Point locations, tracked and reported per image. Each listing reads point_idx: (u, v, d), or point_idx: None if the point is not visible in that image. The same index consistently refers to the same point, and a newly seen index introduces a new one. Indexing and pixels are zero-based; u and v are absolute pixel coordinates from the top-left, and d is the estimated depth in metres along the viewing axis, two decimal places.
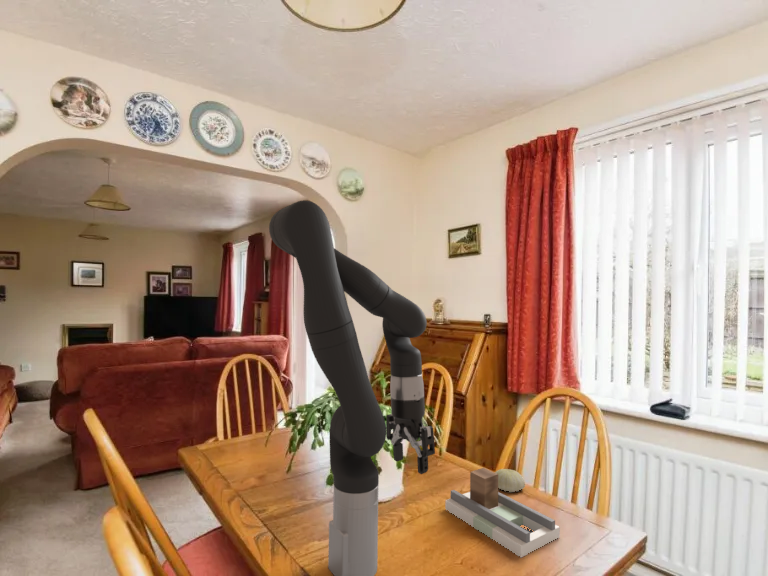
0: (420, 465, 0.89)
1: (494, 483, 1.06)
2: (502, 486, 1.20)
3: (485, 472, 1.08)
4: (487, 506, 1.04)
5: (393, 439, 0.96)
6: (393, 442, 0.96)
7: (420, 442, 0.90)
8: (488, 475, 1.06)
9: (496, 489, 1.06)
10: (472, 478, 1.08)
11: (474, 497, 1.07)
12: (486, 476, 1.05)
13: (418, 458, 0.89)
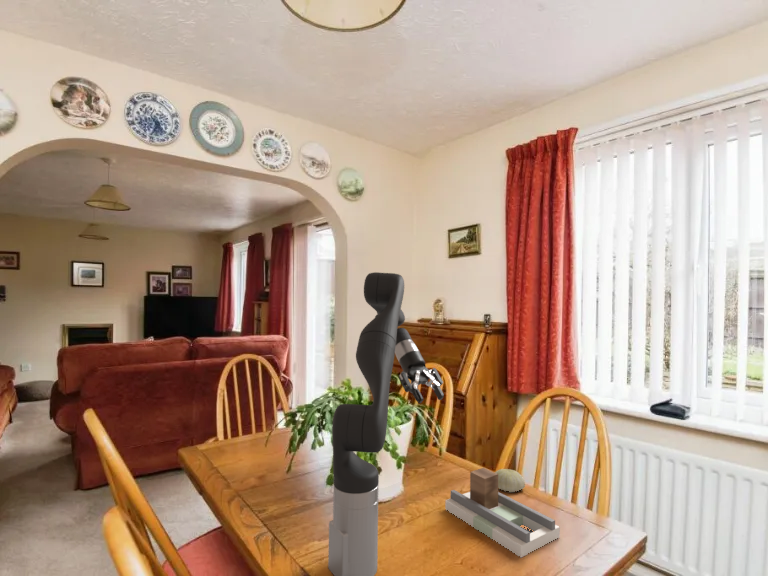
0: None
1: (494, 483, 1.06)
2: (502, 486, 1.20)
3: (485, 472, 1.08)
4: (487, 506, 1.04)
5: (415, 384, 1.26)
6: (416, 386, 1.25)
7: None
8: (488, 475, 1.06)
9: (496, 489, 1.06)
10: (472, 478, 1.08)
11: (474, 497, 1.07)
12: (486, 476, 1.05)
13: (438, 387, 1.29)
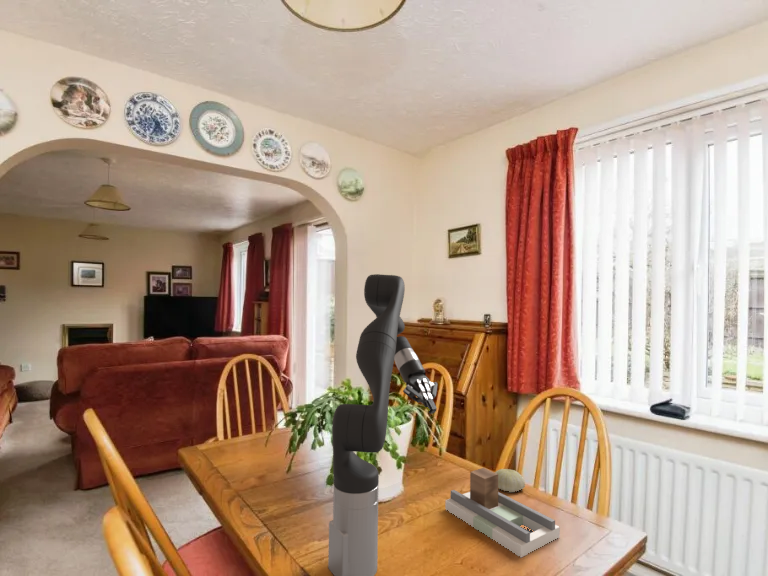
0: None
1: (494, 483, 1.06)
2: (502, 486, 1.20)
3: (485, 472, 1.08)
4: (487, 506, 1.04)
5: (426, 395, 1.27)
6: (427, 397, 1.26)
7: None
8: (488, 475, 1.06)
9: (496, 489, 1.06)
10: (472, 478, 1.08)
11: (474, 497, 1.07)
12: (486, 476, 1.05)
13: (430, 400, 1.26)
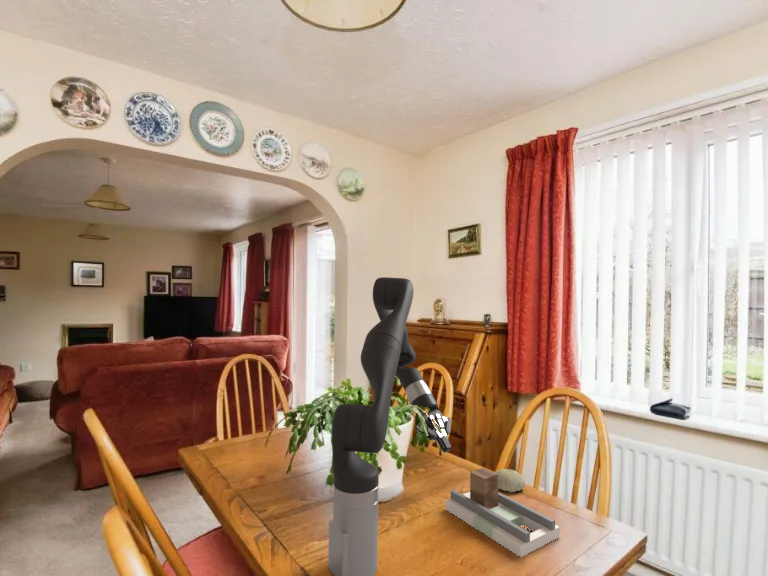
0: None
1: (494, 483, 1.06)
2: (502, 486, 1.20)
3: (485, 472, 1.08)
4: (487, 506, 1.04)
5: None
6: (441, 434, 1.21)
7: None
8: (488, 475, 1.06)
9: (496, 489, 1.06)
10: (472, 478, 1.08)
11: (474, 497, 1.07)
12: (486, 476, 1.05)
13: (445, 437, 1.21)
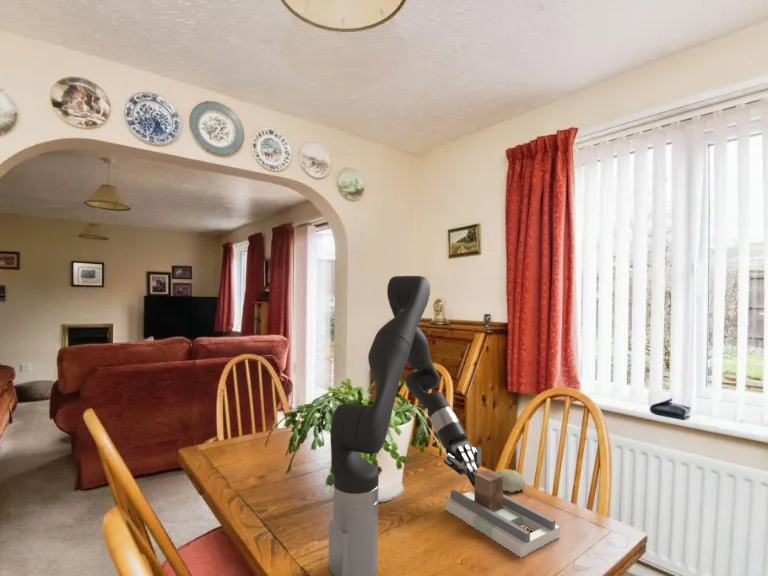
0: None
1: (499, 485, 1.05)
2: None
3: (490, 474, 1.07)
4: (492, 509, 1.03)
5: (470, 466, 1.11)
6: (471, 468, 1.10)
7: None
8: (493, 477, 1.05)
9: (501, 491, 1.05)
10: (476, 480, 1.06)
11: (478, 499, 1.06)
12: (491, 478, 1.04)
13: (475, 472, 1.10)
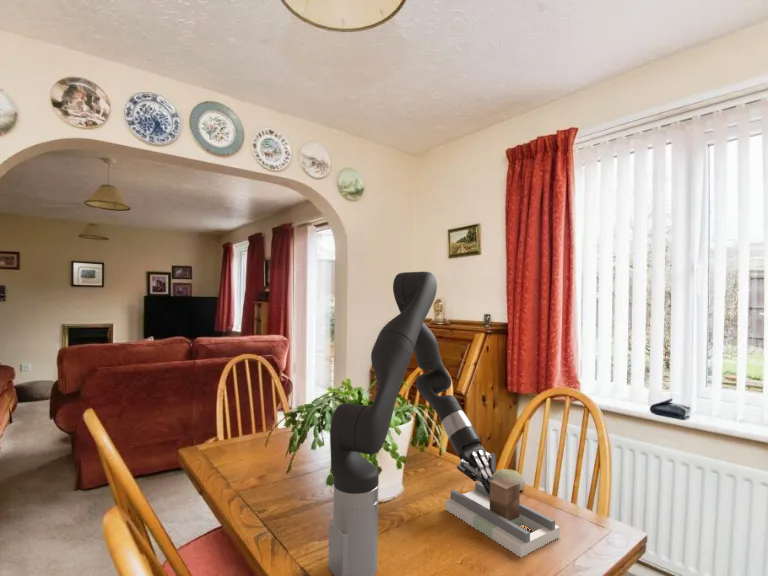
0: None
1: (515, 493, 1.01)
2: None
3: (505, 481, 1.03)
4: (508, 517, 0.99)
5: None
6: (486, 475, 1.06)
7: None
8: (509, 484, 1.01)
9: (517, 499, 1.01)
10: (492, 488, 1.02)
11: (494, 508, 1.01)
12: (507, 486, 1.00)
13: (490, 478, 1.06)
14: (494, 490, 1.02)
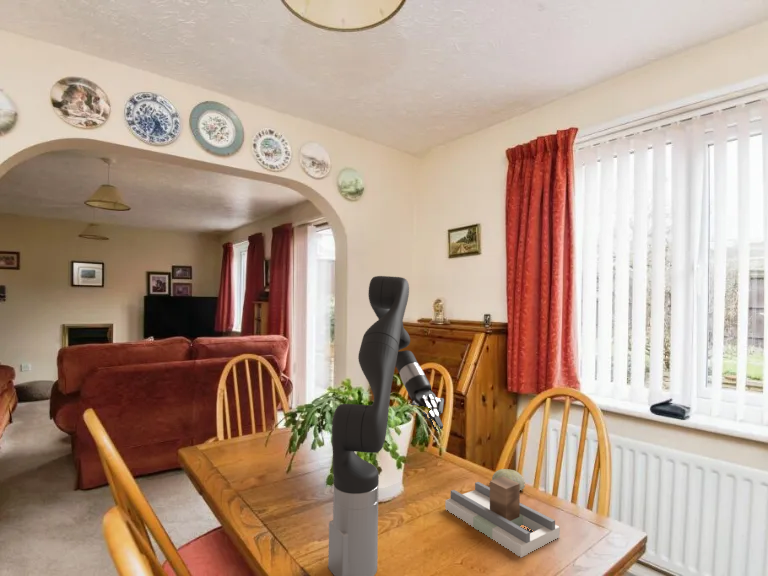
0: None
1: (515, 493, 1.01)
2: None
3: (505, 481, 1.03)
4: (508, 517, 0.99)
5: (432, 412, 1.25)
6: (433, 414, 1.24)
7: None
8: (509, 484, 1.01)
9: (517, 499, 1.01)
10: (492, 488, 1.02)
11: (494, 508, 1.01)
12: (507, 486, 1.00)
13: (437, 417, 1.24)
14: (494, 490, 1.02)
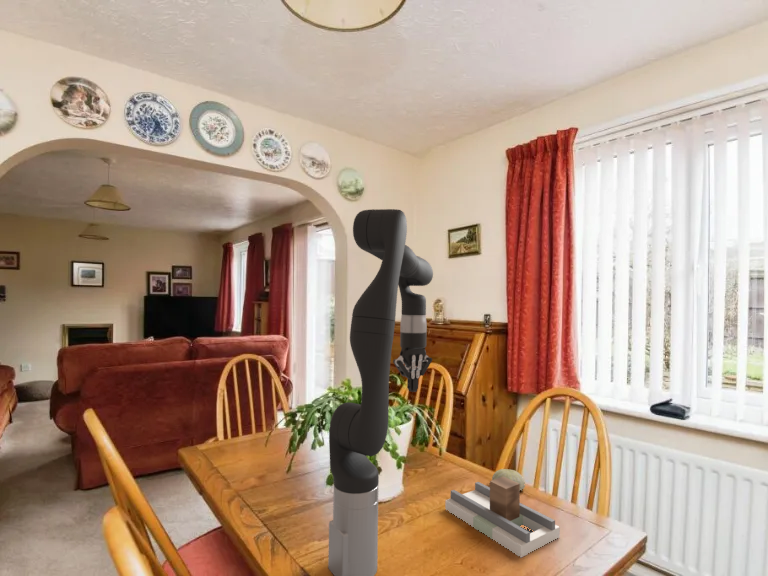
0: None
1: (515, 493, 1.01)
2: None
3: (505, 481, 1.03)
4: (508, 517, 0.99)
5: (414, 374, 1.18)
6: (414, 376, 1.18)
7: None
8: (509, 484, 1.01)
9: (517, 499, 1.01)
10: (492, 488, 1.02)
11: (494, 508, 1.01)
12: (507, 486, 1.00)
13: (416, 379, 1.18)
14: (494, 490, 1.02)
